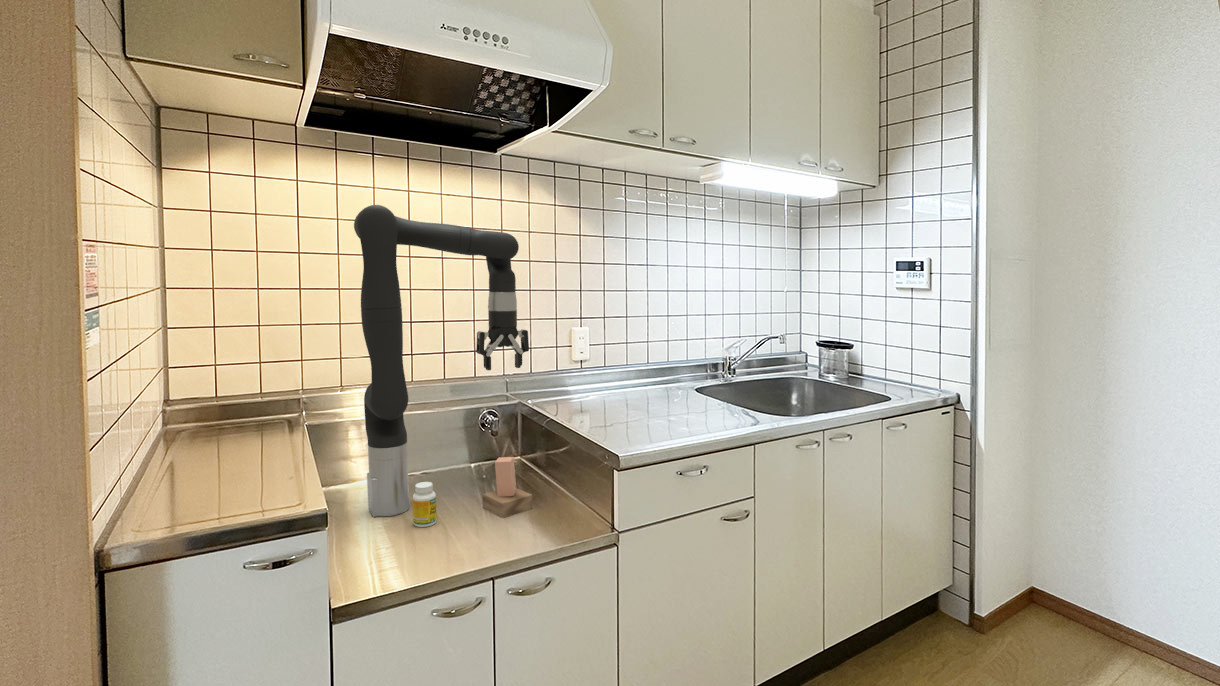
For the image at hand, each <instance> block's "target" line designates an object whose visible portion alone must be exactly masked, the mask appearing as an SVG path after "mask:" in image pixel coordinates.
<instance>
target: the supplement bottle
mask: <svg viewBox="0 0 1220 686" xmlns="http://www.w3.org/2000/svg"><path fill="white" fill-rule="evenodd" d="M433 489H434V486H433V482H431V481H422V482H421V481H420V482H417V483H416V484H415V485H414V490H415V492H414V494H413V495H412V517H413V520H412V522H413V525H414V526H415V527H417V528H428V527H432V526H433V525H435V524H436V523H437V494H436V492H435V491H434V490H433Z"/></svg>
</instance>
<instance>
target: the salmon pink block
mask: <svg viewBox="0 0 1220 686" xmlns="http://www.w3.org/2000/svg"><path fill="white" fill-rule="evenodd" d="M494 468H495V479H496V482H495V484H496V490H497V494H498V497H506V496H514V494H515V492H516V488H517V483H516V481H517V480H516V470H515V468H516V467H515V457H514V456H504V457H503V456H501V457H500V456H499V457H497V459H496V460H495V461H494Z"/></svg>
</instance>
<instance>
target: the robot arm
mask: <svg viewBox="0 0 1220 686" xmlns="http://www.w3.org/2000/svg"><path fill="white" fill-rule="evenodd" d="M353 229H354V232H355V234H356V236H357V237H358V238H359V242H360V245H361V252H362V262H363V272H362V280H361V291H360V313H361V314H360V315H361V325H362V328H361V329H362V332H363V337H364V341H365V345H366V349H367V353H368V356H369V361H370V366H371V367H370V369H371V383H369V385H368V386H367V388H366V389H365V392H364V396H363V397H364V398H363V401H364V402H363V403H364V405H363V406H364V423H365V425H364V426H365V433H366V437H367V455H368V472H367V473H366V483H367V485H366V486H367V509H368V511H369V512H370V514H371V515H372V517H373V518H376V517H390V516H391V517H392V516H397V515H400V514H403V513H405V512H406V511H407V510H409V508H410V496H409V495H410V494H409V493H410V491H409V489H410V488H409V461H408V460H409V459H408V456H409V455H408V434H407V433H408V432H407V428H406V424H405V419H404V413H405V411H406V409H407V407H408V404H409V393H408V387H407V382H406V374H405V370H404V359H403V352H404V351H403V347H404V337H403V335H404V333H403V332H404V331H403V308H402V299H401V298H402V297H401V288H400V283H399V282H400V281H399V274H398V268H397V253H398V252H397V251H398V250H397V248H398V246H397V245H401V246H409V247H411V246H413V247H419V248H426V249H430V250H435V251H442V252H446V253H453V254H458V255H465V256H481V257H482V256H483V257H485V259H486V260H485V261H486V265H487V270H488V301H487V303H488V304H487V311H488V312H487V313H488V314H487V315H488V330H487V331H480V330H479V331H477V332H476V349H475V351H476V353H477V354H478V355H482V356H483V357H482V358H483V368H484V369H485V370H486V371H492V356H491V355H492V353H493V352H494V351H495V350H496V348H497V347H498V348H502V347H510V348H511V349H512V350H513V351H514V352H515V353H514V368H517V369H521V367H522V366H523V355H524V353H526V352H527V353H528V352H529V351H530V344H529V341H530V340H529V331H528V330H527V329H519V330H518V328H517V326H518V309H517V308H518V306H517V304H518V302H517V300H518V299H517V292H516V289H517V288H516V285H517V283H516V282H517V281H516V274H515V272H514V271H513V270H512V261H511V259H513V258H514V257H515V256H516V255H517V254H518V252H519V242H518V240H517V239H516V237H515V236H513V235H512V234H510V233H507V232H503V231H496V230H495V231H493V230H481V229H476V228H472V227H468V226H463V225H462V226H460V225H455V224H450V223H449V224H448V223H439V222H438V223H437V222H424V221H417V220H410V219H406V218H403V217H401V216H396V215H395V214H394V212H392V211H391V209H389V208H387V207H386V206H383V205H381V204H371V205H368V206H367V207H364V208H363V209H362V210H361V211H358V214H357V215H356V217H355V218H354V222H353ZM517 337H519V338H520V344H519V343H518V342H517V340H516V339H517ZM487 338H489V342H488V343H487V345H486V347H485V341H486V340H487Z"/></svg>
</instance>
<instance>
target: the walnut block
mask: <svg viewBox="0 0 1220 686" xmlns="http://www.w3.org/2000/svg"><path fill="white" fill-rule="evenodd" d="M482 508H483V509H484V510H486V511H487V512H490V513H492V514H494V515H496V516H497V517H500V518H502V519H505V518H508V517H511V516H513V515H517V514H519V513H523V512H526V511H529V510H532V509H533V494H532V493H529V492H527V491H524V490H522V489H519V488H518V487H516V492H515V494H514V496H506V497H498V494H497V489H496V490H493V491H489V492H485V493H483V494H482Z"/></svg>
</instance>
